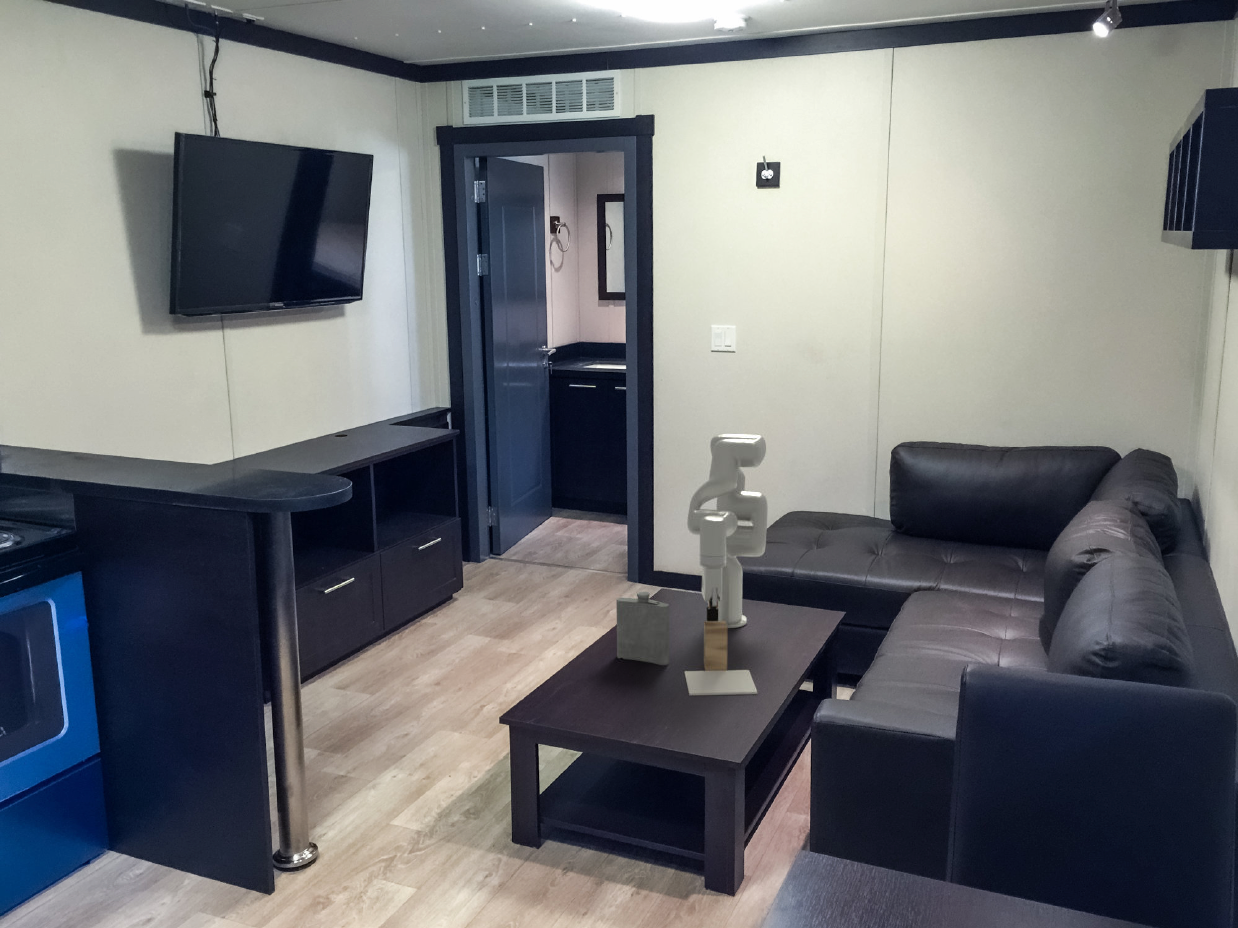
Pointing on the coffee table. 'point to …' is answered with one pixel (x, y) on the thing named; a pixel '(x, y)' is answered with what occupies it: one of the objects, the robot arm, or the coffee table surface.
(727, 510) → the robot arm
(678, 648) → the coffee table surface
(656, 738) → the coffee table surface
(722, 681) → the mat
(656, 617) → the hip flask
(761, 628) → the coffee table surface
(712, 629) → the brown wooden block
